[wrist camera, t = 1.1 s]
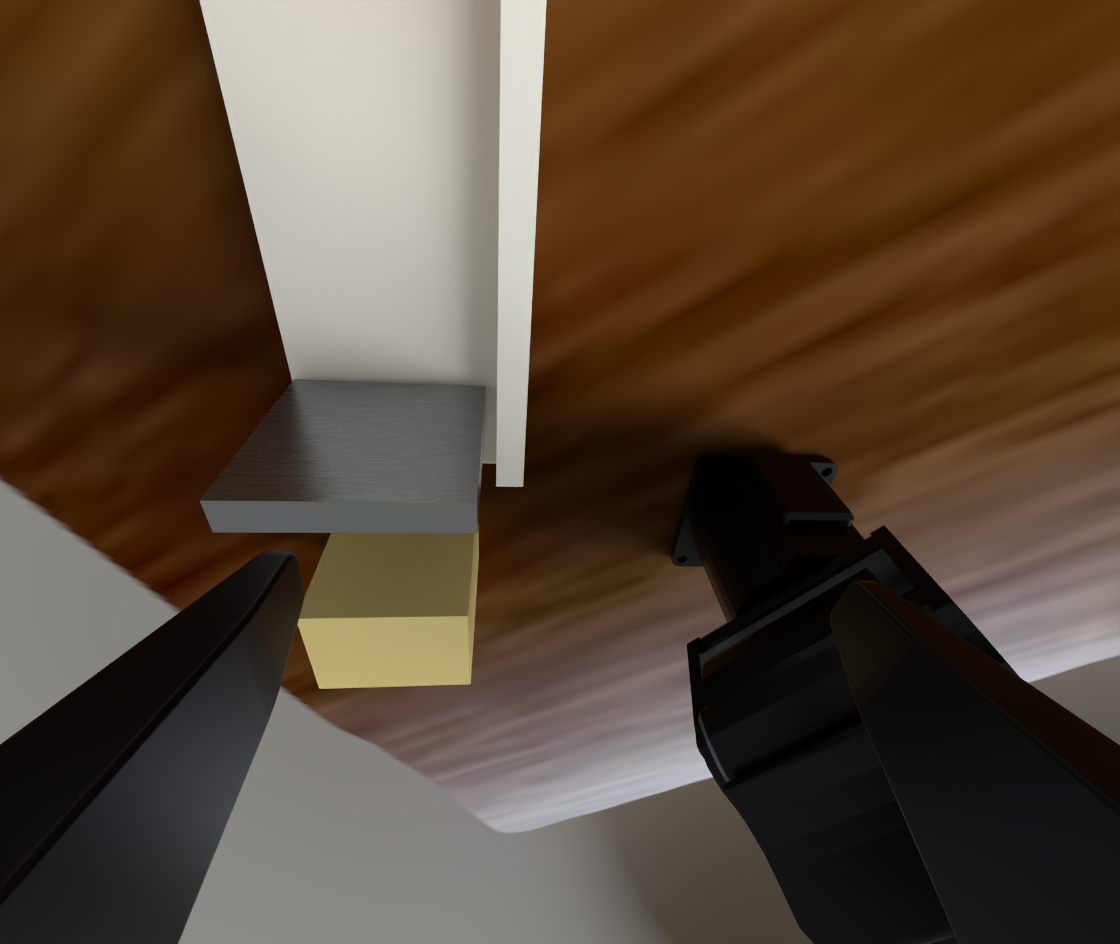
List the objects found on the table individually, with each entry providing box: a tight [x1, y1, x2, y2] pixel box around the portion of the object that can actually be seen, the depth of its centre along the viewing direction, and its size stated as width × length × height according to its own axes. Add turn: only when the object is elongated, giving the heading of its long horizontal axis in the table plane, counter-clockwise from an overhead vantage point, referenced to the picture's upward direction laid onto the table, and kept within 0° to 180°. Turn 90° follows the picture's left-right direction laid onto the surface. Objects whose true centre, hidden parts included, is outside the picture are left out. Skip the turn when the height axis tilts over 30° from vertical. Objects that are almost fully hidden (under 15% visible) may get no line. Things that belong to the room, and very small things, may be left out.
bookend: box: [200, 379, 486, 533], centre depth 16 cm, size 4×6×6 cm, turn 85°
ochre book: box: [298, 531, 479, 689], centre depth 21 cm, size 4×6×7 cm
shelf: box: [200, 0, 546, 487], centre depth 13 cm, size 20×8×7 cm, turn 176°
